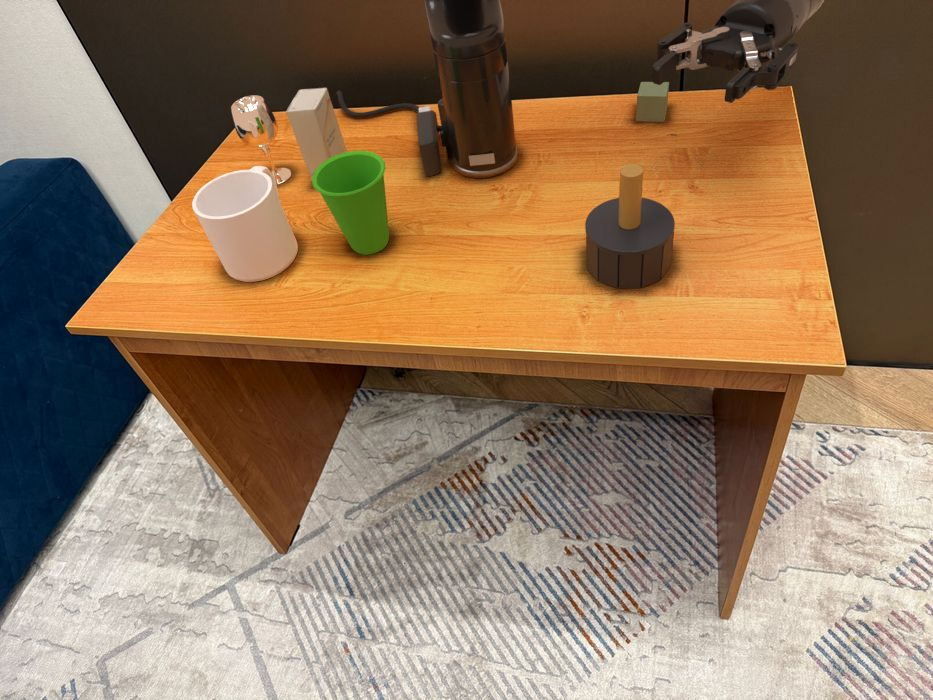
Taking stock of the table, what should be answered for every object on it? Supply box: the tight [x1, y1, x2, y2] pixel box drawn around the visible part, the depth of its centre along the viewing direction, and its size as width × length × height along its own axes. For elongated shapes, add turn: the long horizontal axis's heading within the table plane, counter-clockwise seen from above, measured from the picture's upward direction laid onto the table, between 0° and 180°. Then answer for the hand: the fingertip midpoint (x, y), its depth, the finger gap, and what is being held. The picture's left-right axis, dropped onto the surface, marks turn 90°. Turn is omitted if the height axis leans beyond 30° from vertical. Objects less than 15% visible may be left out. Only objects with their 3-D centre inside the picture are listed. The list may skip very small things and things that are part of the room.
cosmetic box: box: [285, 87, 348, 181], centre depth 99 cm, size 6×4×12 cm
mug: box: [191, 165, 299, 283], centre depth 90 cm, size 13×10×10 cm
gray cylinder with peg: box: [584, 163, 676, 290], centre depth 77 cm, size 10×10×13 cm
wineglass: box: [230, 94, 292, 186], centre depth 101 cm, size 6×6×12 cm
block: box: [635, 81, 670, 123], centre depth 101 cm, size 4×4×4 cm
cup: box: [311, 150, 390, 256], centre depth 87 cm, size 9×9×11 cm
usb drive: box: [416, 105, 442, 178], centre depth 102 cm, size 5×12×3 cm
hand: (691, 85), depth 75 cm, fingers open, 8 cm apart
